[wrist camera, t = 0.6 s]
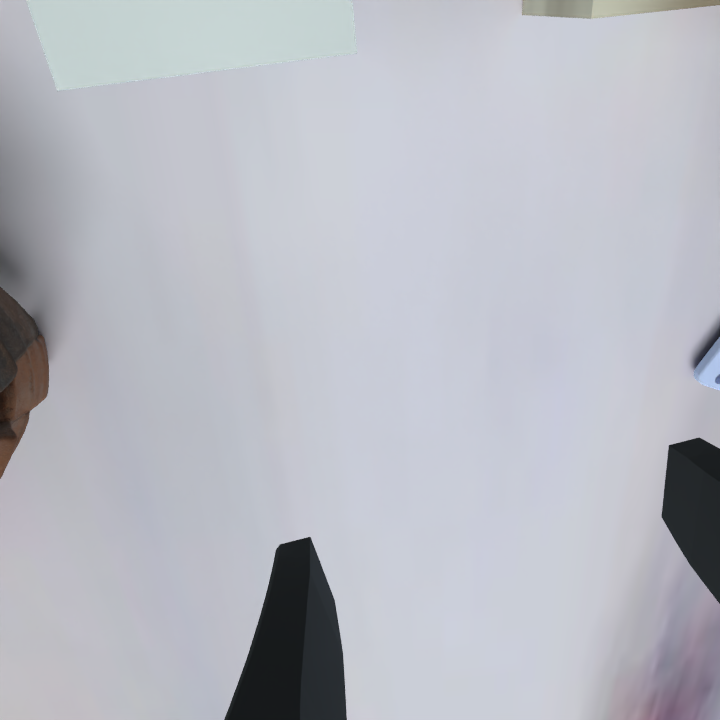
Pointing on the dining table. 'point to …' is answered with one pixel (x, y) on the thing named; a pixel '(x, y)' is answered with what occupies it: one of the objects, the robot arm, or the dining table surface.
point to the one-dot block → (184, 36)
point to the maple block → (606, 7)
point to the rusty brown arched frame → (19, 373)
